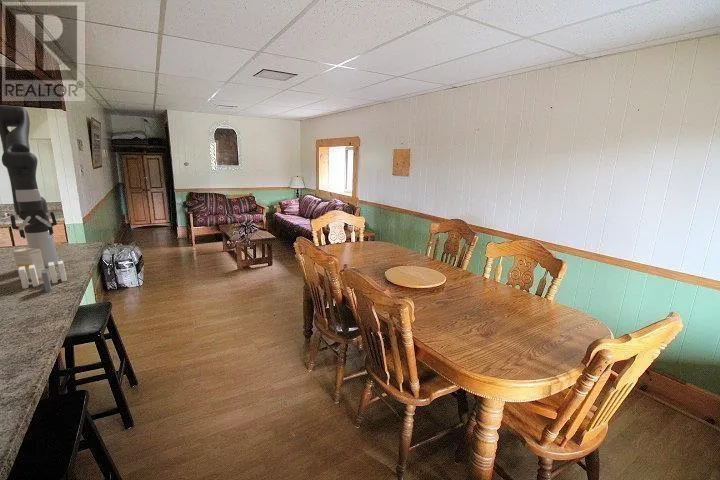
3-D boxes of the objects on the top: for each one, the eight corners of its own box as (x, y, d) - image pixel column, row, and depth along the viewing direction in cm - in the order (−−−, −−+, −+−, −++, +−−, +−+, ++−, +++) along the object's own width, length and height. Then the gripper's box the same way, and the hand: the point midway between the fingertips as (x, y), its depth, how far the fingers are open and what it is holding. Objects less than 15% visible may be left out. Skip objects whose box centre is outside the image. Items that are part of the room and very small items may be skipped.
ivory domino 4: (61, 278, 148) (57, 261, 146) (66, 277, 149) (62, 260, 147) (61, 281, 144) (58, 264, 142) (66, 280, 145) (63, 263, 143)
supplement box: (47, 276, 149) (41, 248, 146) (36, 280, 145) (29, 251, 141) (30, 275, 150) (24, 247, 147) (19, 279, 145) (11, 250, 142)
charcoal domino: (46, 288, 137) (41, 269, 135) (51, 287, 138) (47, 269, 136) (45, 292, 134) (41, 273, 132) (51, 291, 135) (46, 272, 133)
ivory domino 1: (23, 284, 140) (19, 266, 138) (29, 283, 141) (24, 266, 139) (23, 288, 137) (18, 270, 134) (28, 287, 138) (23, 269, 136)
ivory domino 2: (33, 283, 142) (29, 265, 140) (38, 282, 143) (34, 264, 141) (33, 286, 138) (28, 268, 136) (38, 285, 140) (34, 267, 137)
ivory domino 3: (52, 279, 146) (48, 262, 144) (57, 279, 147) (53, 261, 145) (52, 283, 142) (48, 265, 140) (57, 282, 143) (53, 264, 141)
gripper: (51, 198, 152) (58, 233, 155) (6, 200, 142) (15, 237, 146) (51, 199, 146) (59, 235, 150) (5, 202, 137) (14, 240, 141)
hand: (37, 236), depth 148 cm, fingers open, 8 cm apart
